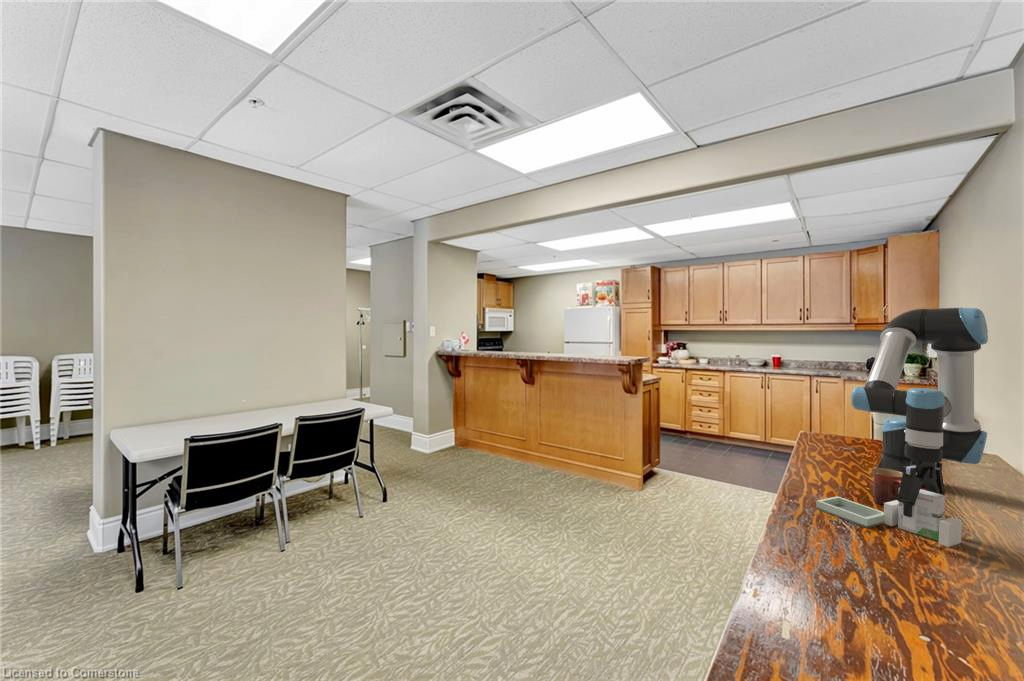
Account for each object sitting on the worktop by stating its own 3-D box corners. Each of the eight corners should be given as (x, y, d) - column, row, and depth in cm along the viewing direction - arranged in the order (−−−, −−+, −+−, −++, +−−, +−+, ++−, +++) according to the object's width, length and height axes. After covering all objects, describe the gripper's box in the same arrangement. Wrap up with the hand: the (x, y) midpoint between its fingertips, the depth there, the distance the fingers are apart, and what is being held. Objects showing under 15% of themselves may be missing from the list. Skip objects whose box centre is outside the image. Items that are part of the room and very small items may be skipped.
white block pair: (895, 520, 127) (896, 500, 127) (961, 542, 114) (961, 520, 113) (883, 523, 125) (884, 502, 125) (948, 547, 111) (949, 524, 111)
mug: (864, 497, 144) (865, 467, 144) (894, 499, 142) (895, 469, 142) (887, 512, 132) (888, 479, 132) (920, 515, 131) (922, 481, 130)
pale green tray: (837, 504, 138) (837, 496, 138) (888, 522, 125) (888, 513, 125) (816, 508, 135) (816, 500, 135) (866, 528, 122) (867, 519, 122)
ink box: (945, 537, 116) (947, 494, 116) (936, 541, 114) (938, 497, 114) (905, 524, 124) (906, 484, 124) (896, 528, 122) (897, 486, 122)
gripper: (929, 438, 126) (927, 513, 127) (882, 445, 118) (879, 525, 118) (964, 444, 119) (961, 523, 120) (916, 452, 111) (913, 537, 112)
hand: (920, 524), depth 119 cm, fingers open, 10 cm apart
